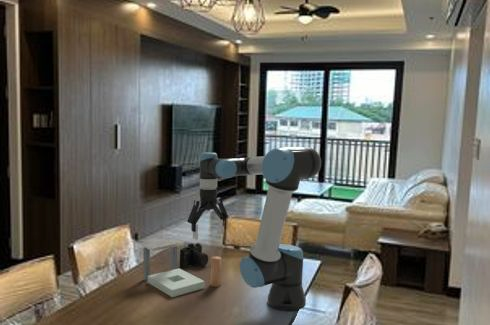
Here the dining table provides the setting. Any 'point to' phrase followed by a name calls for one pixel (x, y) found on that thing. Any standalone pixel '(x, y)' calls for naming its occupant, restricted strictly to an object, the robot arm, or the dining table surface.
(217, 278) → the peg
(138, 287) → the dining table surface
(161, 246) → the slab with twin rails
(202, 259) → the camera
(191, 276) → the socket board
